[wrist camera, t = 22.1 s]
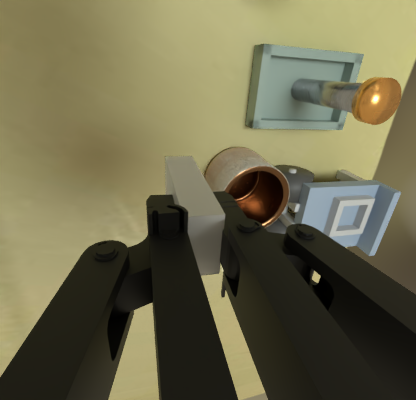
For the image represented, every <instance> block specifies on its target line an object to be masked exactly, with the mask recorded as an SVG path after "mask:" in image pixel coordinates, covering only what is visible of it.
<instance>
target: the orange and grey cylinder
mask: <svg viewBox="0 0 416 400" xmlns="http://www.w3.org/2000/svg"><path fill="white" fill-rule="evenodd" d="M291 95H292V97H293V98H294V99H295V100H297V101H302V102H306V103H311V104H315V105H320V106H324V107H328V108H333V109H337V110H342V111H346V112H351V113H352V114H353V116H354V117H355V119H357V120H358V121H360V122H364V123H368V124H372V125H377V124H381V123H383V122H385V121H386V120H388V119H389V118H390V117H391V116H392V115H393V114H394V112H395V111H396V109H397V107H398V105H399V103H400V100H401V87H400V84H399V83H398V81H397V80H395V79H393V78H381V77H374V78H370V79H368V80H367V81H365V82H364V83H351V82H340V81H328V80H316V79H304V78H301V79H298V80H297V81H295V82H294V84H293V86H292V89H291Z"/></svg>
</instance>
